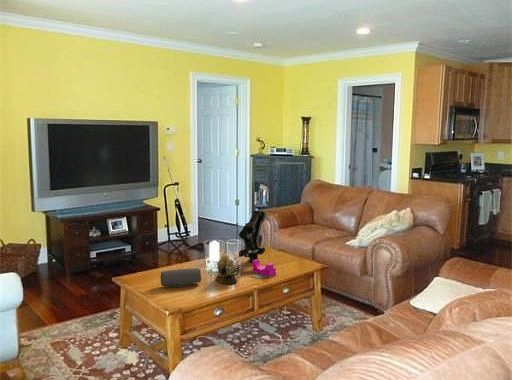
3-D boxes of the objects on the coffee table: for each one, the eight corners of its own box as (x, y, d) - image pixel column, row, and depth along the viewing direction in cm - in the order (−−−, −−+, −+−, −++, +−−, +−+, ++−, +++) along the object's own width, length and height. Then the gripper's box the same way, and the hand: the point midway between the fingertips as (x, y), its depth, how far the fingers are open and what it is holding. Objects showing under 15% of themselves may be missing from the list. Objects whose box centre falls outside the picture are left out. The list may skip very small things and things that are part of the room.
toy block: (275, 274, 290) (275, 263, 289) (269, 276, 285) (269, 265, 284) (259, 269, 300) (259, 258, 299) (252, 271, 295) (252, 260, 294)
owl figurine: (242, 283, 273) (242, 256, 271) (226, 287, 266) (226, 259, 264) (227, 275, 287) (227, 249, 285) (211, 278, 281) (211, 252, 278)
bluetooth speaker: (197, 281, 275) (197, 265, 274) (201, 286, 267) (201, 269, 265) (160, 285, 267) (160, 268, 266) (162, 290, 259) (162, 273, 258)
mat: (251, 276, 287) (251, 275, 287) (272, 272, 295) (272, 272, 295) (256, 279, 281) (256, 278, 281) (277, 275, 289) (277, 275, 289)
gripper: (255, 246, 314) (262, 267, 307) (232, 249, 305) (238, 270, 298) (262, 239, 306) (269, 260, 299) (238, 241, 297) (244, 263, 290)
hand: (255, 263), depth 297 cm, fingers closed
